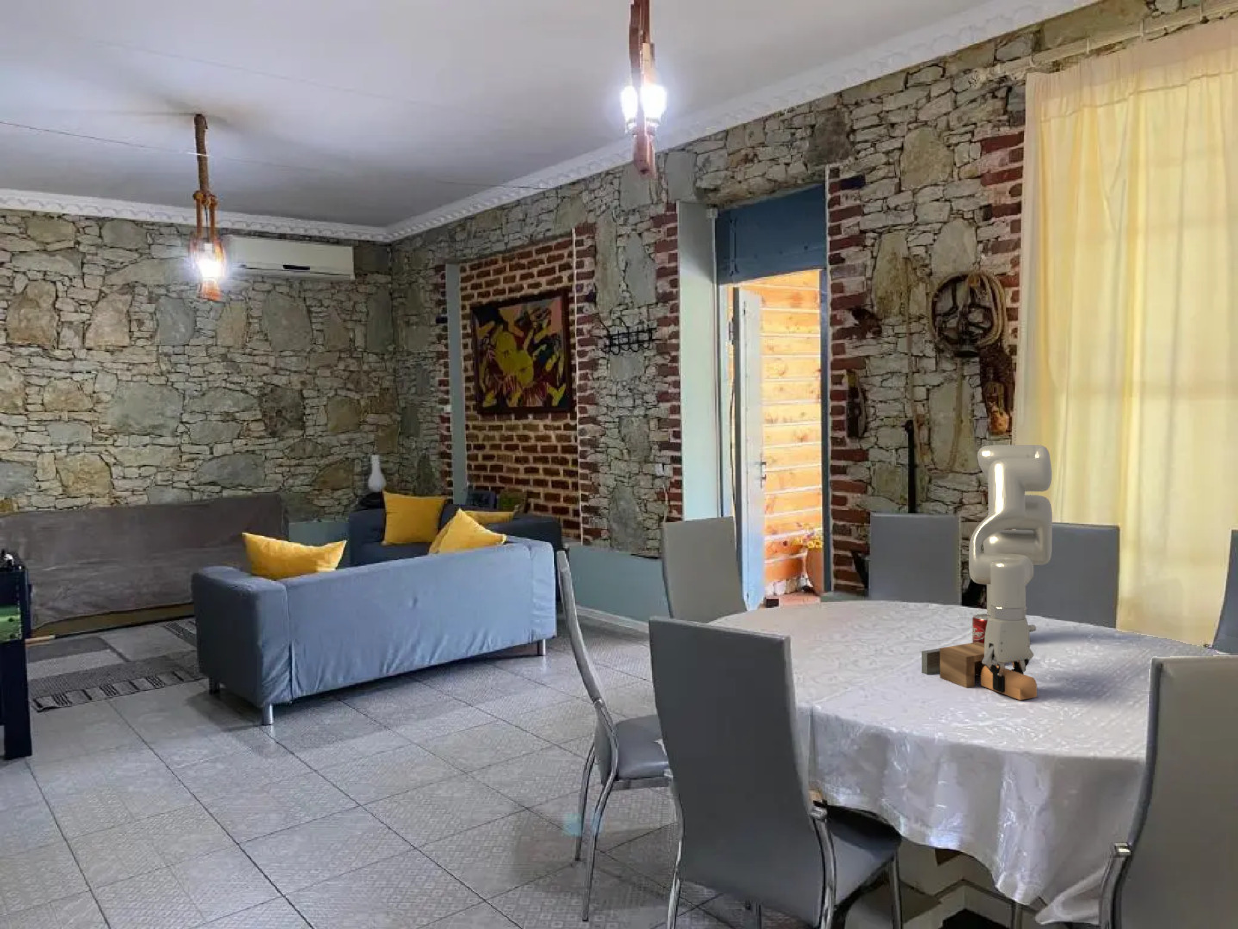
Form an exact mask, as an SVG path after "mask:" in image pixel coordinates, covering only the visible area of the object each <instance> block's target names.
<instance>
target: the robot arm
mask: <svg viewBox="0 0 1238 929" xmlns="http://www.w3.org/2000/svg"><path fill="white" fill-rule="evenodd" d="M976 458H977V462H978V466H979V467H980V469H981V471H982V473H983V474H984V475H985V478H986V480H987V487H988V488H987V490H988V492H987V493H988V494H987V499H988V501H987V502H988V506H987V507H988V508H987V509H988V510H987V512H988V513H987V516H986V517H984V519H983V520H981V521H980V522H979V523H978V525H977V526H976V528H975V529H974V531H973V532H972V535H971V538H970V540H969V548H968V551H969V552H968V572H969V576H970V578H971V580H972V581H973V582H974V583H976V584H978V585H986V614H991V618H989V619H988V621H987V626H986V632H985V642H984V658H983V660H982V663H983V664H984V665H985V666H986V667H987V668H988V669H989V670H990V672H991V673H993V689H994V690H993V691H995V690H996V691H995V692H997V691H999V692H998V693H1000V692H1001V694H1003V693H1004V692H1005V676H1003V671H1004V666H1005V667H1006V664H1007V663H1012V668H1011V669H1010V670H1012V671H1015V672H1018V673H1021V674H1024V675H1025V673H1024V672H1026V670H1027V666H1028V665H1029V663H1030V661H1031V660H1032V658H1033V657H1034V656H1035V655H1034V654H1035V653H1033V651H1032V649H1031V641H1030V640H1031V639H1030V633H1032V632H1035V631H1036V630H1037V627H1036V625H1035V624H1028V619H1027V617H1026V611H1027V610H1028V607H1027V606H1026V601H1027V600H1026V586H1027V585H1028V584H1029V583H1030V581H1031V580H1032V579H1033V577H1034V571H1035V570H1034V566H1038V565H1039V566H1043V565H1046V564H1048V563H1049V562H1050V560H1051V558H1052V552H1053V510H1052V509H1053V508H1052V504H1051V502H1050V500H1049V499H1048V497H1046V496H1045V495H1044V496H1043V495H1039V494H1026V492H1035V493H1036V492H1038V493H1039V492H1040V493H1041V492H1046V491H1048V490H1049V489H1050V487H1051V484H1052V479H1053V477H1052V476H1053V471H1052V470H1053V469H1052V462H1051V461H1052V460H1051V455H1050V453H1049V450H1048V448H1047V447H1046V446H1043V445H1041V444H1040V445H1039V444H1017V445H1016V444H994V445H993V444H992V445H985V446H982V447H980V448H979V449H978V451H977V457H976ZM982 545H983V552H982ZM992 659H993V660H992ZM991 661H992V662H991ZM997 664H999V667H998V668H997Z"/></svg>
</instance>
